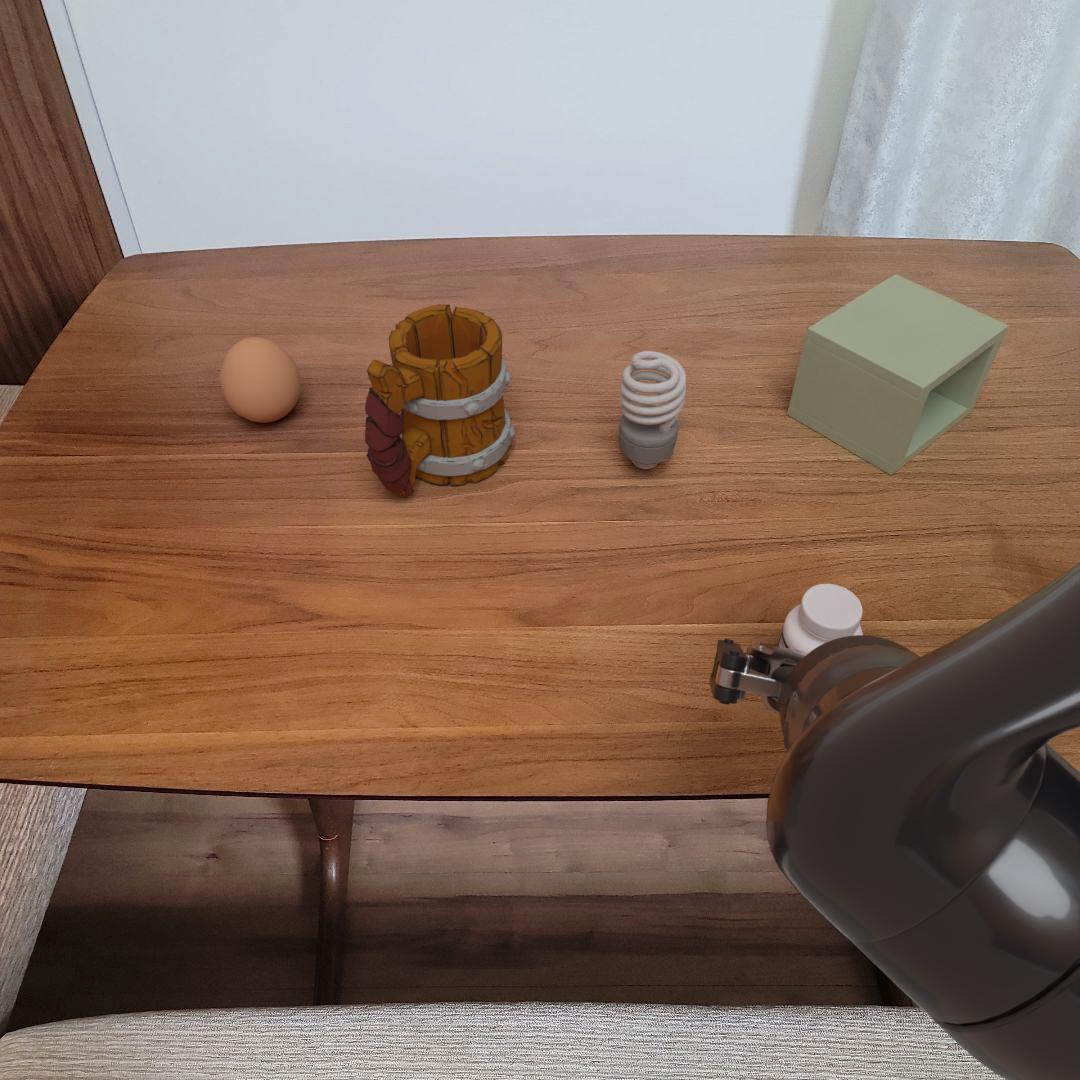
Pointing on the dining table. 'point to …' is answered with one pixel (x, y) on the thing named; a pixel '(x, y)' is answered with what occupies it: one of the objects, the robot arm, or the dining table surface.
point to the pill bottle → (821, 618)
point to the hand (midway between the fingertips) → (833, 676)
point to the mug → (439, 401)
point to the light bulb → (650, 408)
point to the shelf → (893, 371)
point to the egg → (260, 380)
